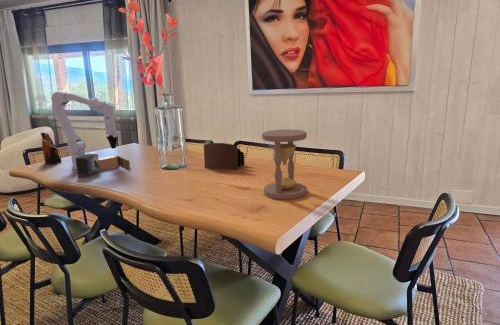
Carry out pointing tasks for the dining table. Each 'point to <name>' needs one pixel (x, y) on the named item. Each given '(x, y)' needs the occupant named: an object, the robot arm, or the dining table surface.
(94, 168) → the small box
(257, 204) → the dining table surface
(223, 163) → the letter holder
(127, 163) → the shelf
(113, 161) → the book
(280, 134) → the hourglass
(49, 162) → the statue
